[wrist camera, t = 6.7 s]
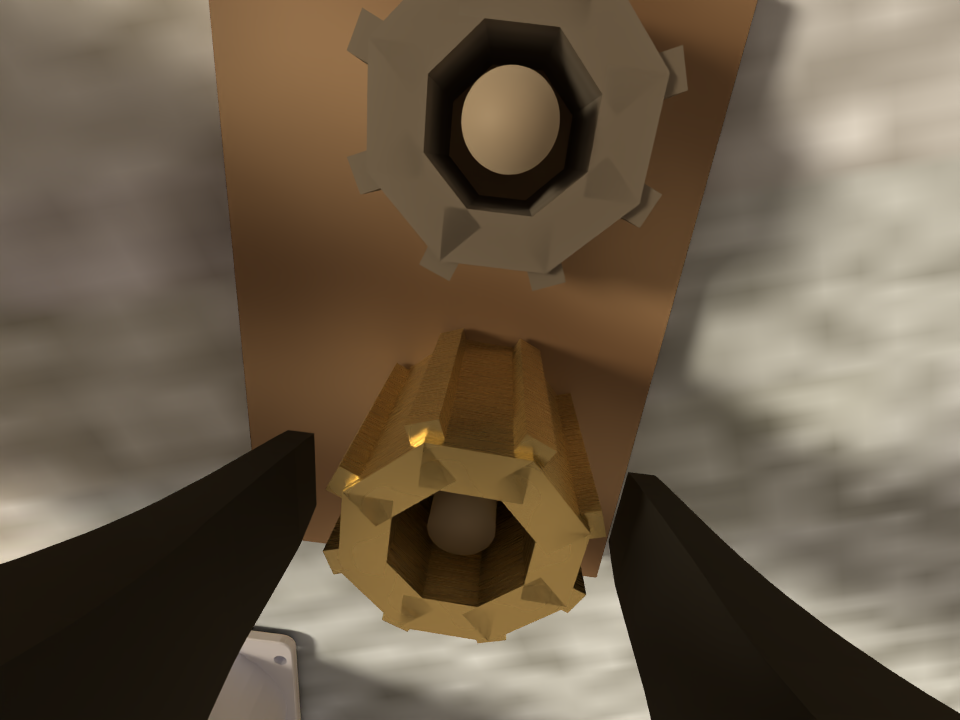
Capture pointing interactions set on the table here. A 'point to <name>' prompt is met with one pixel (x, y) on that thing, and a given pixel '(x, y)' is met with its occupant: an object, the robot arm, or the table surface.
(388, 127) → the gear board
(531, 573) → the brass gear
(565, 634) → the table surface
